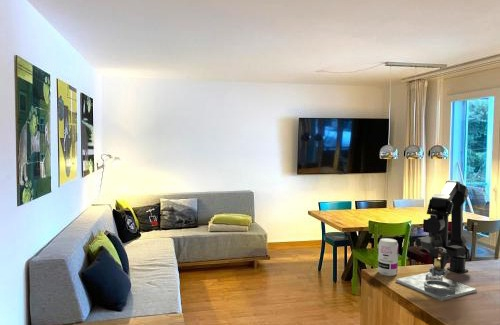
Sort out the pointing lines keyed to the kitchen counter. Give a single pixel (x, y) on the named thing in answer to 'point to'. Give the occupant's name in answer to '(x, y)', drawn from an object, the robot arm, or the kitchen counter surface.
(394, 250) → the supplement can
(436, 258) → the gear
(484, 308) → the kitchen counter surface
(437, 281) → the carrier
